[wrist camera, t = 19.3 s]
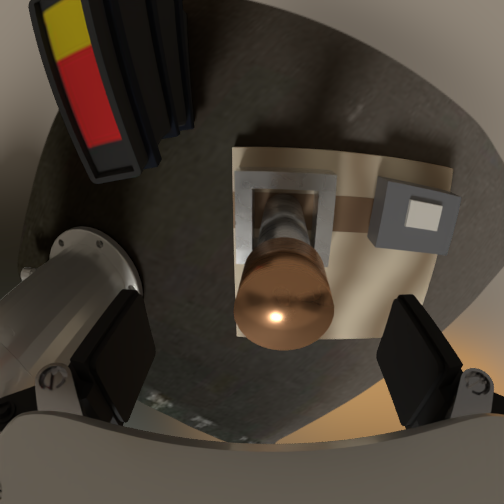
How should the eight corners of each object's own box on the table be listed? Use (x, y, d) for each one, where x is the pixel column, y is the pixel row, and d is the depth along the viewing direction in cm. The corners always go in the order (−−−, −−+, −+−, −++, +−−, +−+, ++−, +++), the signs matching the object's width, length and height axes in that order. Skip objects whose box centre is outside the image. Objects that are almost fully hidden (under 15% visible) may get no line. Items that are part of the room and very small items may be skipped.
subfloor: (238, 330, 29) (236, 336, 28) (234, 146, 21) (232, 147, 20) (407, 330, 27) (410, 335, 26) (447, 166, 20) (453, 168, 19)
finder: (364, 233, 22) (376, 249, 19) (374, 174, 20) (389, 182, 17) (431, 241, 22) (448, 257, 19) (443, 188, 20) (463, 198, 17)
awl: (258, 233, 23) (235, 347, 11) (259, 187, 22) (231, 267, 10) (305, 235, 23) (325, 351, 11) (308, 189, 21) (341, 272, 9)
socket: (240, 250, 24) (236, 264, 22) (238, 166, 21) (234, 171, 19) (323, 253, 23) (328, 267, 21) (330, 169, 20) (337, 175, 18)
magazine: (185, -23, 14) (88, -43, 4) (208, 104, 24) (162, 208, 14) (143, -11, 14) (21, 0, 4) (170, 110, 24) (104, 214, 14)
